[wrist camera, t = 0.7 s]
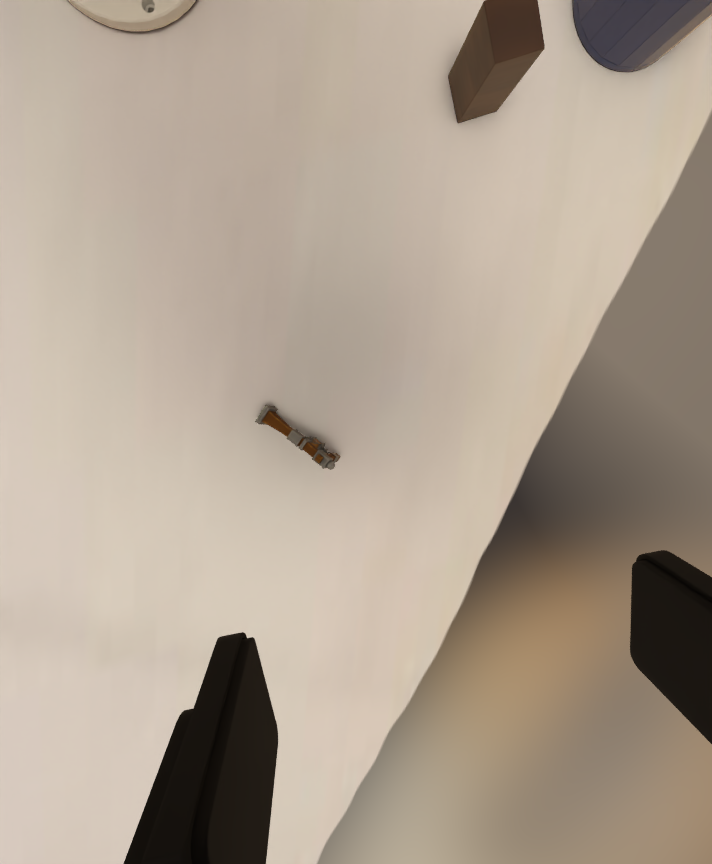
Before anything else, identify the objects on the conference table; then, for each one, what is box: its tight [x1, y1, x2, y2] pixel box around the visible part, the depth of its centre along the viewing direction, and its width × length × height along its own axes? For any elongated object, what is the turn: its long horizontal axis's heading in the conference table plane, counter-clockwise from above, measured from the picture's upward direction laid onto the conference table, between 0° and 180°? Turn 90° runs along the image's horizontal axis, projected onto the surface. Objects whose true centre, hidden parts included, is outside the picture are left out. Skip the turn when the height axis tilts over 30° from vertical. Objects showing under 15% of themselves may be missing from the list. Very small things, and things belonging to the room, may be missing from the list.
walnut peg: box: [448, 0, 544, 123], centre depth 28 cm, size 3×3×7 cm
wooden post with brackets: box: [255, 405, 341, 470], centre depth 35 cm, size 2×8×4 cm, turn 56°
